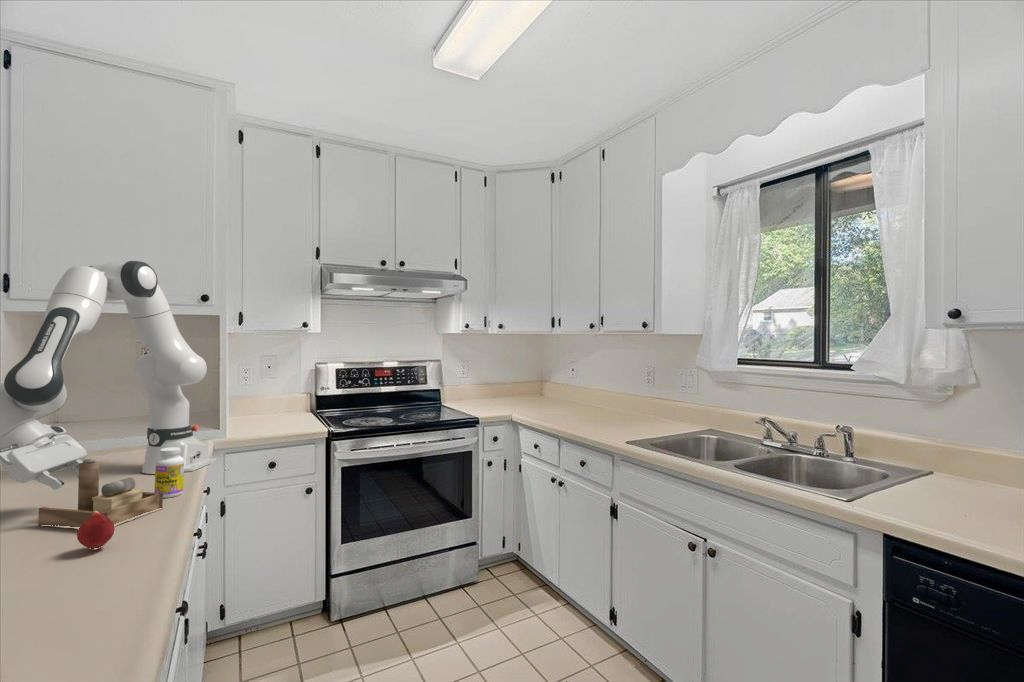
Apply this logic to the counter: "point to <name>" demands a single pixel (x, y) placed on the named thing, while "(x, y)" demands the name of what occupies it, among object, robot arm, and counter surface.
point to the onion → (95, 531)
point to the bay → (115, 515)
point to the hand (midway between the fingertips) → (73, 481)
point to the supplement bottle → (169, 473)
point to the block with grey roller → (116, 495)
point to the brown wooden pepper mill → (88, 483)
